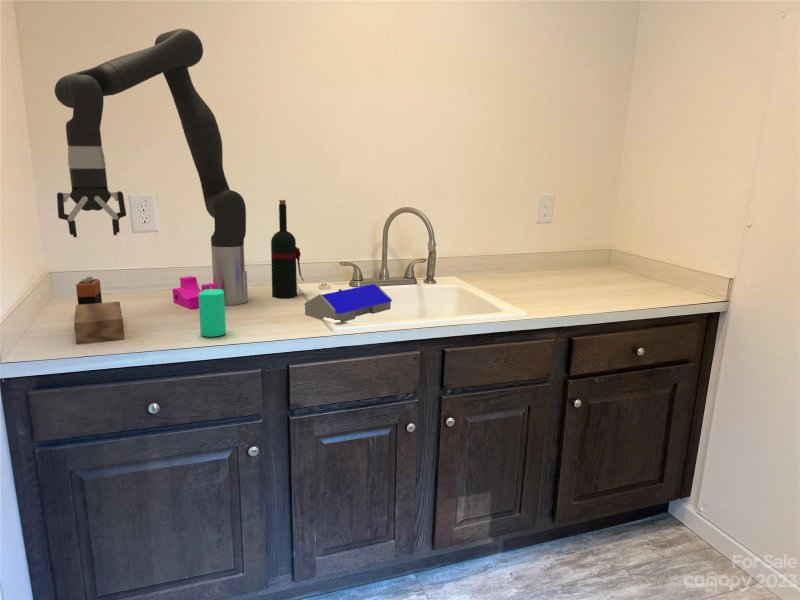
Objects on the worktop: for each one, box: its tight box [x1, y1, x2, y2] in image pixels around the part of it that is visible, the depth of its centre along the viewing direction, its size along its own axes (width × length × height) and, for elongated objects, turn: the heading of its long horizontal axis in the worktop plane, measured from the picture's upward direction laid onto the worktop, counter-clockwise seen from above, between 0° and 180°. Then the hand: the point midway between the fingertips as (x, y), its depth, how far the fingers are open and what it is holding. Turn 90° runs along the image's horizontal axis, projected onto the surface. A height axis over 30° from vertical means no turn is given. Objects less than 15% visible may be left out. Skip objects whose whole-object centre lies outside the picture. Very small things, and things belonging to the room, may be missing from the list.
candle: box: [198, 289, 227, 337], centre depth 143 cm, size 6×6×12 cm
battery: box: [75, 276, 103, 305], centre depth 157 cm, size 4×7×10 cm, turn 13°
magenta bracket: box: [172, 275, 218, 310], centre depth 168 cm, size 15×6×8 cm, turn 46°
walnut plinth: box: [73, 301, 125, 345], centre depth 143 cm, size 10×18×5 cm, turn 27°
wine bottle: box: [270, 199, 305, 300], centre depth 180 cm, size 8×10×30 cm
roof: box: [303, 282, 393, 323], centre depth 166 cm, size 22×14×7 cm, turn 139°
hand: (95, 235), depth 139 cm, fingers open, 8 cm apart
